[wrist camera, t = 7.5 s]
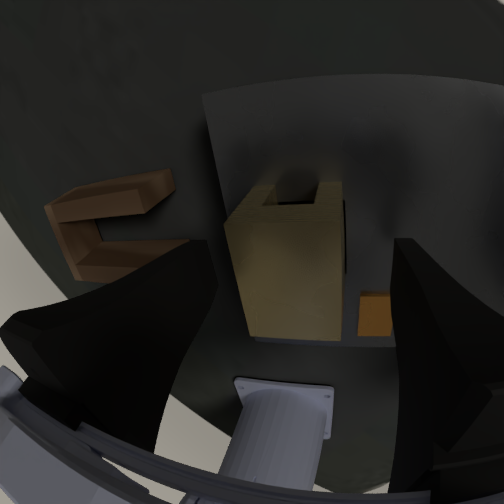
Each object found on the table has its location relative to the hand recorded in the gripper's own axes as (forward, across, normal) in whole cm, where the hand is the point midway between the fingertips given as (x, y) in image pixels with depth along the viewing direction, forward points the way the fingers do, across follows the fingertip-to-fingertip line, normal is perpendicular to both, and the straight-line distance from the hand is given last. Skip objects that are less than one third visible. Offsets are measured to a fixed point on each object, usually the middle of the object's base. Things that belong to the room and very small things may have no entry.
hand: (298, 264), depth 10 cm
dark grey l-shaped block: (+5, -6, 0) cm, 7 cm away
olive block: (+4, 0, 0) cm, 5 cm away
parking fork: (+5, +10, 0) cm, 11 cm away
